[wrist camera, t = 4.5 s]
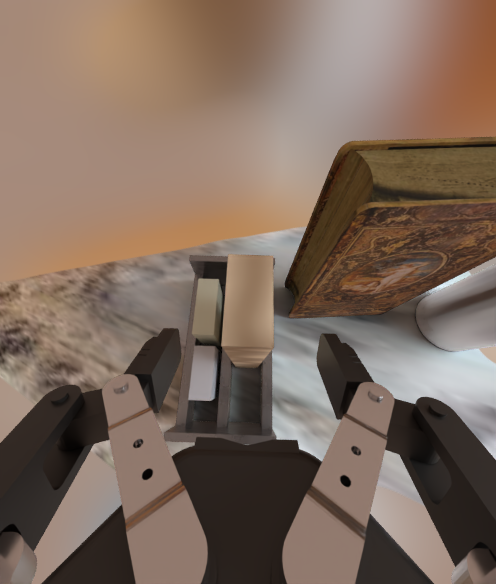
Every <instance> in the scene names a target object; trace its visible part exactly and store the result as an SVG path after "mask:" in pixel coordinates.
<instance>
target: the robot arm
mask: <svg viewBox="0 0 496 584" xmlns="http://www.w3.org/2000/svg"><path fill="white" fill-rule="evenodd" d="M416 321H417V324H418V327H419V329H420V330H421V332H422V333H423V335H424V336H425V337H426V338H427V339H428V340H429V341H430V342H431V343H433V344H434V345H436V346H437V347H439V348H442V349H444V350H448V351H464V350H471V349H478V348H486V347H493V346H496V264H494V265H492V266H490V267H488V268H486V269H484V270H481V271H479V272H477V273H475V274H473V275H471V276H469V277H466V278H464V279H462V280H460V281H458V282H456V283H454V284H452V285H450V286H447V287H445V288H443V289H441V290H439V291H437V292H435V293H433V294H430V295H428V296H426V297H424V298H423V299H422V300H421V301H420V302H419V304H418V305H417V308H416ZM180 359H181V346H180V337H179V330H178V329H173V328H164V329H163V330H162V331H161V333H160V335H159V336H158V337H153V338H151V339H150V340H148V341H147V342H146V343H145V344H144V346H143V347H142V349H141V350H140V351H139V353H138V354H137V356H136V357H135V359H134V360H133V361H132V363H131V364H130V366H129V367H128V369H127V370H126V372H125V373H124V374H123V375H120V376H117V377H115V378H113V379H111V380H110V381H109V382H107V383H106V384H105V386H104V387H103V389H99V390H94V391H90V392H85V393H82V392H81V389H80V387H78V386H76V385H66V386H62V387H59V388H57V389H55V390H53V391H51V392H49V393H48V394H47V395H45V396H44V397H43V398H42V399H41V400H40V401H39V402H38V403H37V404H36V406H35V407H34V408H33V409H32V410H31V411H30V412H29V413H28V414H27V415H26V416H25V417H24V418H23V419H22V421H21V422H20V423H19V424H18V425H17V426H16V427H15V428H14V429H13V430H12V431H11V433H9V435H8V436H7V437H6V438H5V439H4V440H3V441H2V442H1V443H0V584H31V583H32V580H33V578H34V576H35V572H36V568H37V558H36V555H35V553H34V550H35V548H36V546H37V544H38V543H39V541H40V539H41V537H42V536H43V534H44V532H45V530H46V528H47V527H48V525H49V523H50V521H51V520H52V518H53V516H54V514H55V512H56V511H57V509H58V507H59V505H60V504H61V502H62V500H63V498H64V496H65V494H66V493H67V491H68V489H69V487H70V486H71V484H72V482H73V480H74V479H75V477H76V475H77V473H78V471H79V470H80V468H81V466H82V464H83V462H84V461H85V459H86V457H87V455H88V453H89V452H90V450H91V448H92V446H93V445H94V444H95V443H99V442H102V441H106V440H110V444H111V449H112V454H113V459H114V465H115V470H116V475H117V480H118V486H119V490H120V496H121V501H122V505H121V506H120V507H119V508H118V509H117V510H116V511H115V512H114V513H113V514H112V515H111V516H110V517H109V518H108V519H106V520H105V521H104V523H103V524H101V525H100V526H99V527H98V528H97V529H96V530H95V531H94V532H93V533H92V534H91V535H90V536H89V537H88V538H87V539H86V540H85V541H84V542H83V543H82V544H81V545H80V546H79V547H78V548H77V549H76V550H75V551H74V552H73V553H72V554H71V555H70V556H69V557H68V558H67V559H66V560H65V561H64V562H63V563H62V564H61V565H60V566H59V567H58V568H57V569H56V570H55V571H54V572H53V573H52V574H51V575H50V576H49V577H48V578H47V579H46V580H45V581H44V582H43V583H42V584H434V583H433V582H432V581H431V580H430V579H429V578H428V577H427V575H426V574H425V573H424V572H423V571H422V570H421V569H420V568H419V567H418V566H417V564H415V562H414V561H413V560H412V559H411V558H410V557H409V556H408V555H407V554H406V553H405V552H404V550H403V549H402V548H401V547H400V546H399V545H398V544H397V543H396V542H395V540H394V539H393V538H392V537H391V536H390V535H389V534H388V533H387V532H386V531H385V529H384V528H383V527H382V526H381V525H380V524H379V523H378V522H377V521H376V520H375V518H374V517H373V516H372V515H371V514H370V511H371V506H372V502H373V498H374V494H375V489H376V485H377V481H378V477H379V473H380V468H381V464H382V460H383V456H384V451H385V450H388V451H391V452H394V453H397V454H399V455H400V457H401V459H402V461H403V463H404V465H405V467H406V469H407V471H408V473H409V475H410V477H411V479H412V481H413V483H414V485H415V487H416V489H417V491H418V493H419V495H420V497H421V499H422V501H423V503H424V505H425V507H426V509H427V511H428V513H429V515H430V517H431V519H432V521H433V523H434V525H435V527H436V529H437V531H438V533H439V535H440V537H441V539H442V541H443V543H444V545H445V547H446V549H447V551H448V553H449V555H450V557H451V559H452V561H453V563H454V565H455V569H454V570H453V573H452V584H496V460H495V459H494V458H493V456H492V455H491V454H490V453H489V452H488V450H487V449H486V448H485V447H484V446H483V444H482V443H481V442H480V441H479V440H478V439H477V437H476V436H475V435H474V434H473V433H472V431H471V430H470V429H469V428H468V427H467V426H466V424H465V423H464V422H463V421H462V420H461V418H460V417H459V416H458V415H457V414H456V413H455V412H454V410H452V409H451V408H450V407H449V406H448V405H446V404H444V403H443V402H441V401H439V400H436V399H434V398H430V397H421V398H419V399H418V400H417V401H416V404H412V403H408V402H405V401H401V400H398V399H395V398H394V397H393V395H392V394H391V393H390V392H389V391H388V390H387V389H386V388H384V387H383V386H381V385H379V384H376V383H374V381H373V379H372V378H371V376H370V375H369V373H368V372H367V370H366V368H365V367H364V365H363V364H362V363H361V360H360V359H359V358H358V356H357V354H356V353H355V351H354V349H352V348H351V347H350V346H349V345H347V344H346V343H341V341H340V340H339V338H338V336H337V335H336V334H321V336H320V341H319V347H318V352H317V366H318V369H319V372H320V375H321V377H322V380H323V383H324V385H325V388H326V391H327V394H328V396H329V399H330V402H331V404H332V407H333V410H334V412H335V415H336V418H337V419H342V420H341V422H340V424H339V427H338V429H337V431H336V433H335V435H334V437H333V440H332V442H331V444H330V446H329V448H328V450H327V453H326V455H325V457H324V459H323V461H322V462H321V461H320V460H319V459H317V458H316V457H315V456H313V455H311V454H309V453H307V452H305V451H303V450H300V449H299V446H298V441H297V440H274V439H272V440H268V441H264V442H260V443H256V444H251V445H243V444H240V443H237V442H233V441H230V440H227V439H224V438H213V437H196V441H195V446H192V447H189V448H186V449H184V450H182V451H180V452H178V453H176V454H175V455H173V456H172V457H171V455H170V452H169V450H168V447H167V445H166V442H165V440H164V437H163V435H162V432H161V430H160V427H159V425H158V423H157V420H156V418H155V415H154V413H159V410H160V408H161V405H162V403H163V401H164V398H165V396H166V394H167V391H168V389H169V386H170V384H171V382H172V379H173V377H174V375H175V372H176V370H177V367H178V365H179V363H180Z"/></svg>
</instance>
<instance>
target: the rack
mask: <svg viewBox="0 0 496 584" xmlns="http://www.w3.org/2000/svg"><path fill="white" fill-rule="evenodd" d="M189 261H190V264H191V266H192V268H193V270H194V272H195V279H194V287H193V295H192V303H191V310H190V318H189V326H188V333H187V341H186V349H185V357H184V364H183V372H182V380H181V387H180V395H179V403H178V411H177V418H176V425H175V426H174V427H172V428H170V429H169V430H167V431H166V432H165V433H164V440H165V441H171V442H195V441H196V437H213V438H224V439H227V440H230V441H233V442H237V443H240V444H250V445H251V444H256V443H260V442H264V441H268V440H272V439H274V440H276V435H275V433H274V431H273V429H272V350H271V352H270V353H269V354H268V355H267V356H266V358H265V359H264V360H263V361H262V363H261V399H260V423H248V422H229V415H230V397H231V379H232V361H231V359H230V358H229V356H228V355H227V353H226V352H225V350H224V349H223V347H222V361H221V375H220V389H219V402H218V416H217V421H195V420H193V415H194V405H195V400H188V398H189V389H190V381H191V372H192V363H193V354H194V346H201V342H200V341H199V340H198V339H197V338H196V337H195V336H193V335H192V328H193V320H194V312H195V304H196V296H197V288H198V279H219V283H220V285H226V277H227V264H228V257H222V256H192V255H190V258H189ZM274 265H275V258H273V269H274Z"/></svg>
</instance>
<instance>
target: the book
mask: <svg viewBox="0 0 496 584" xmlns="http://www.w3.org/2000/svg"><path fill="white" fill-rule="evenodd" d="M495 257H496V137H471V138H439V139H410V140H409V139H407V140H376V141H351V142H348V143H346V144H345V145H343V146H342V147H341V148H340V150H339V151H338V153H337V155H336V157H335V159H334V161H333V164H332V166H331V169H330V171H329V173H328V176H327V179H326V181H325V183H324V186H323V189H322V191H321V193H320V196H319V198H318V201H317V203H316V206H315V208H314V211H313V213H312V216H311V218H310V221H309V223H308V226H307V228H306V231H305V233H304V236H303V238H302V241H301V243H300V246H299V248H298V251H297V253H296V256H295V258H294V261H293V263H292V265H291V268H290V270H289V273H288V275H287V278H286V281H285V288H288V289H289V290H290V291H291V292H292V294H293V296H294V300H295V304H294V305H293V307H292V308H291V310H290V312H289V313H288V316H289V318H316V317H336V316H356V315H376V314H383V313H385V312H387V311H389V310H391V309H393V308H395V307H397V306H399V305H401V304H403V303H405V302H407V301H409V300H411V299H413V298H415V297H417V296H419V295H421V294H423V293H425V292H427V291H429V290H431V289H433V288H435V287H437V286H439V285H441V284H443V283H445V282H447V281H449V280H451V279H453V278H455V277H457V276H459V275H461V274H463V273H465V272H467V271H469V270H471V269H472V268H475V267H476V266H478V265H481V264H482V263H484V262H486V261H489V260H491V259H493V258H495Z"/></svg>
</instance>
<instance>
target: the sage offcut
mask: <svg viewBox="0 0 496 584" xmlns="http://www.w3.org/2000/svg"><path fill="white" fill-rule="evenodd" d="M224 304H225V301H224V298H223V294H222V290H221V287H220V283H219V279H198V288H197V296H196V304H195V312H194V320H193V328H192V335H193V336H195V337H196V338H197V339H198V340H199V341H200V342H201V343H203V344H204V345H205V346H221V344H222V331H223V317H224Z"/></svg>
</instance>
